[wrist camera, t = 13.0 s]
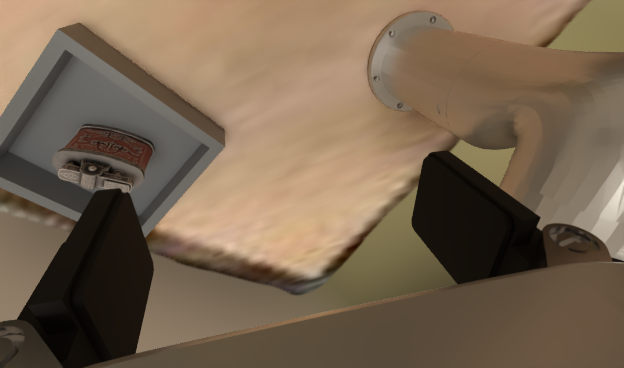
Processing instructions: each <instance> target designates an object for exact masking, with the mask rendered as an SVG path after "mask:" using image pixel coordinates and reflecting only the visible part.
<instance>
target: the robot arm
mask: <svg viewBox="0 0 624 368" xmlns="http://www.w3.org/2000/svg"><path fill="white" fill-rule="evenodd" d="M389 32H390V35H389ZM375 76H376V77H375ZM374 77H375V78H374ZM368 78H369V83H370V86H371V89H372V91H373V93H374V95H375V96H376V97H377V99H378V100H379V101H380V102H382V103H383V104H384V105H386V106H387V107H389V108H391V109H394V110H397V111H413V110H416V111H417V112H419V113H420V114H422V115H423V116H425V117H427V118H428V119H430V120H431V121H433V122H435V123H436V124H438V125H439V126H441V127H442V128H444V129H446V130H447V131H449V132H450V133H452V134H454V135H455V136H457V137H458V138H460V139H462V140H464V141H465V142H467V143H469V144H471V145H473V146H475V147H479V148H482V149H492V150H499V149H508V148H514V147H516V148H515V150H514V153H513V155H512V157H511V160H510V162H509V166H508V168H507V171H506V173H505V175H504V177H503V179H502V181H501V183H500V186H499V187H498V186H496V185H495V184H494V183H492V182H491V181H489V180H488V179H487V178H485V177H484V176H483V175H481V174H480V173H478V172H477V171H476V170H474V169H473V168H471V167H470V166H469V165H467V164H466V163H464V162H463V161H462V160H460V159H459V158H457V157H456V156H455V155H453V154H452V153H450V152H449V151H439V152H431V153H429V155H428V156H427V157H426V158H425V159H424V160H423V164H422V170H421V175H420V180H419V185H418V190H417V195H416V200H415V206H414V210H413V216H412V227H413V229H414V231H415V232H416V233H417V234H418V236H419V237H420V238H421V239H422V241H423V242H424V243H425V244H426V245H427V247H428V248H429V249H430V251H431V252H432V253H433V254H434V255H435V257H436V258H437V259H438V260H439V262H440V263H441V264H442V265H443V267H444V268H445V269H446V270H447V272H448V273H449V274H450V275H451V276H452V278H453V279H454V280H455V282H456V283H457V284H458V285H453V286H448V287H443V288H438V289H434V290H428V291H424V292H419V293H414V294H409V295H404V296H399V297H395V298H390V299H385V300H380V301H375V302H370V303H365V304H361V305H356V306H351V307H347V308H342V309H337V310H332V311H327V312H323V313H318V314H313V315H309V316H304V317H300V318H294V319H290V320H285V321H280V322H276V323H271V324H266V325H262V326H257V327H253V328H248V329H243V330H239V331H234V332H229V333H225V334H220V335H215V336H211V337H206V338H202V339H197V340H193V341H189V342H184V343H180V344H175V345H171V346H167V347H162V348H158V349H153V350H150V351H145V352H141V353H136V349H137V344H138V339H139V335H140V331H141V326H142V322H143V318H144V313H145V309H146V304H147V300H148V295H149V290H150V286H151V281H152V277H153V271H154V268H153V261H152V258H151V255H150V252H149V249H148V246H147V243H146V240H145V237H144V234H143V231H142V228H141V225H140V222H139V219H138V216H137V213H136V210H135V207H134V204H133V201H132V198H131V196H130V194H129V193H128V192H124V193H123V192H122V190H121V189H120V188H115V189H106V190H98V191H96V192H95V193H94V195H93V196H92V198H91V200H90V201H89V203H88V205H87V206H86V208H85V210H84V211H83V213H82V215H81V216H80V218H79V220H78V222H77V223H76V225H75V227H74V228H73V230H72V232H71V233H70V235H69V237H68V238H67V240H66V242H64V243H63V244H62V245H61V247H60V248H59V250H58V252H57V254H56V255H55V257H54V258H53V260H52V262H51V263H50V265H49V267H48V269H47V270H46V272H45V273H44V275H43V277H42V278H41V280H40V282H39V284H38V285H37V287H36V288H35V290H34V292H33V293H32V295H31V297H30V299H29V300H28V302H27V303H26V305H25V307H24V308H23V310H22V312H21V313H20V315H19V317H18V318H17V320H8V321H3V322H0V368H624V52H580V51H565V50H557V49H550V48H543V47H536V46H530V45H524V44H519V43H514V42H508V41H504V40H498V39H493V38H488V37H483V36H478V35H472V34H467V33H462V32H457V31H454V29H453V27H452V26H451V25H450V23H449V22H448V21H447V20H446V19H445V18H443V17H442V16H441V15H438V14H436V13H433V12H428V11H415V12H410V13H407V14H404V15H402V16H400V17H398V18H397V19H395V20H394V21H392V22H391V23H390V24H389V25H388V26H387V27H386V28H385V29H384V30H383V31H382V33H381V34H380V35H379V37H378V38H377V40H376V42H375V44H374V46H373V48H372V51H371V54H370V57H369V64H368ZM397 104H398V105H397ZM135 353H136V354H135Z"/></svg>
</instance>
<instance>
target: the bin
mask: <svg viewBox="0 0 624 368" xmlns="http://www.w3.org/2000/svg"><path fill="white" fill-rule="evenodd" d="M84 124H98V125H106V126H110V127H115V128H120V129H123V130H126V131H129V132H132V133H135V134H137V135H140V136H142V137H144V138H146V139H149V140H150V141H152V143H153V144H154V147H155V151H154V154H153V156H152V157H151V158H150V160H149V162H148V165H147V167H146V170H145V177H144V180H143V182H142V184H141V185H140V186H139V187H136V188H132V190H131V192H129V194H130V196H131V198H132V201H133V204H134V207H135V210H136V213H137V216H138V219H139V222H140V225H141V228H142V231H143V234H144V237H146V236H147V235H148V234H149V233H150V232H151V230H152V229H153V228H154V227H155V226H156V225H157V224H158V222H159V221H160V220H161V219H162V218H163V217H164V216H165V214H166V213H167V212H168V211H169V210H170V209H171V208H172V207H173V205H174V204H175V203H176V202H177V201H178V200H179V199H180V197H181V196H182V195H183V194H184V193H185V192H186V191H187V189H188V188H189V187H190V186H191V185H192V184H193V183H194V181H195V180H196V179H197V178H198V177H199V176H200V175H201V174H202V172H203V171H204V170H205V169H206V168H207V167H208V166H209V164H210V163H211V162H212V161H213V160H214V159H215V158H216V156H217V155H218V154H219V153H220V152H221V151H222V150H223V149H224V147H225V134H224V129H223V128H222V127H220V126H219V125H218V124H216V123H215V122H213V121H212V120H211V119H209V118H208V117H207V116H205V115H204V114H203V113H201V112H200V111H199V110H197V109H196V108H194V107H193V106H192V105H190V104H189V103H188V102H186V101H185V100H184V99H182V98H181V97H179V96H178V95H177V94H175V93H174V92H173V91H171V90H170V89H169V88H167V87H166V86H165V85H163V84H162V83H160V82H159V81H158V80H156V79H155V78H154V77H152V76H151V75H150V74H148V73H147V72H146V71H144V70H143V69H141V68H140V67H139V66H137V65H136V64H135V63H133V62H132V61H131V60H129V59H128V58H126V57H125V56H124V55H122V54H121V53H120V52H118V51H117V50H116V49H114V48H113V47H112V46H110V45H109V44H107V43H106V42H105V41H103V40H102V39H101V38H99V37H98V36H97V35H95V34H94V33H93V32H91V31H90V30H88V29H87V28H86V27H84V26H83V25H82V24H80V23H77V24H74V25H70V26H66V27H63V28H59V29H57V31H56V32H55V34H54V36H53V37H52V39H51V40H50V42H49V43H48V45H47V46H46V48H45V49H44V51H43V52H42V54H41V55H40V57H39V59H38V60H37V62H36V63H35V65H34V66H33V68H32V69H31V71H30V72H29V74H28V75H27V77H26V78H25V80H24V81H23V83H22V85H21V86H20V88H19V89H18V91H17V92H16V94H15V95H14V97H13V98H12V100H11V101H10V103H9V104H8V106H7V107H6V109H5V111H4V112H3V114H2V115H1V117H0V188H3V189H5V190H7V191H9V192H12V193H14V194H16V195H18V196H21V197H23V198H25V199H28V200H30V201H32V202H34V203H37V204H39V205H41V206H43V207H46V208H48V209H50V210H52V211H55V212H57V213H59V214H62V215H64V216H66V217H68V218H71V219H73V220H75V221H77V222H78V220H79V218H80V216H81V215H82V213H83V211H84V210H85V208H86V206H87V205H88V203H89V201H90V200H91V198H92V196H93V195H94V193H95V192H96V191H98V190H106V189H105V188H100V187H99V188H94V189H85V188H82V187H81V186H80V185H79V184H78V183H76V182H71V181H66V180H62V179H60V178H59V177H58V171H57V170H56V169H55V168H54V166H53V164H52V158H53V156H54V155H55V154H56V153H57V152H58V150H60V149H62V148H64V147H65V146H66V145H67V144H68V143H69V142H70V141H71V140H72V139H73V138H74V137H75V136H76V134H77V131H78V130H79V129H80V128H81V127H82V125H84ZM123 193H124V192H123Z"/></svg>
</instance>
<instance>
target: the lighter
mask: <svg viewBox="0 0 624 368" xmlns="http://www.w3.org/2000/svg"><path fill="white" fill-rule="evenodd" d="M154 151H155V147H154V144H153V143H152V141H150V140H149V139H146V138H144V137H142V136H140V135H137V134H135V133H132V132H129V131H126V130H123V129H120V128H115V127H110V126H106V125H98V124H84V125H82V127H81V128H80V129H79V130H78V131H77V134H76V136H75V137H74V138H73V139H72V140H71V141H70V142H69V143H68V144H67V145H66V146H65V147H64V148H62V149H60V150H58V152H57V153H56V154H55V155H54V156H53V158H52V164H53V166H54V168H55V169H56V170H57V171H58V177H59V178H60V179H62V180H66V181H71V182H76V183H78V184H79V185H80V186H81V187H82V188H85V189H94V188H99V187H100V188H105V189H115V188H120V189H121V190H122V192H128V193H129V192H131V190H132V188H136V187H139V186H140V185H141V184H142V182H143V180H144V177H145V170H146V167H147V165H148V162H149V160H150V158H151V157H152V156H153V154H154Z"/></svg>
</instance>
